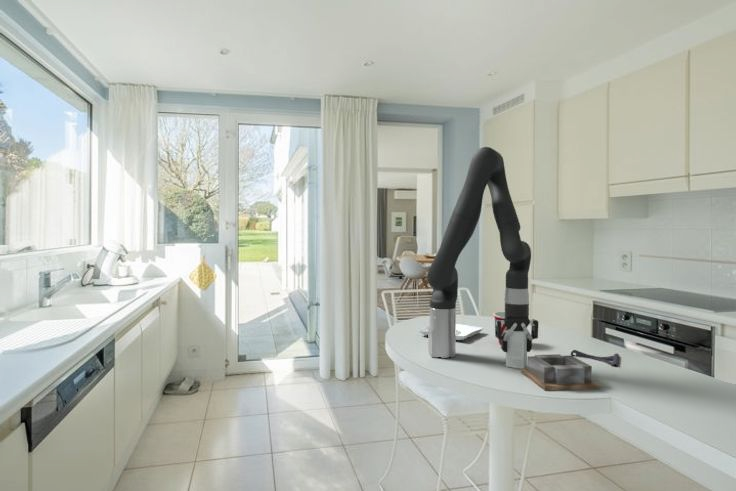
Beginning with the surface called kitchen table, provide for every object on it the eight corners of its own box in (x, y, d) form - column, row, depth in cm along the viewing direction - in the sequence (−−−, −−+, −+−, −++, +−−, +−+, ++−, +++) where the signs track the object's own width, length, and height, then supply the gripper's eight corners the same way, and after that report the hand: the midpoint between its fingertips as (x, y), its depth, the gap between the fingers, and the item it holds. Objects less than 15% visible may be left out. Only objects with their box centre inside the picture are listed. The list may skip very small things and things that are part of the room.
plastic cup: (512, 349, 164) (512, 317, 164) (487, 344, 172) (487, 313, 172) (526, 344, 171) (527, 314, 171) (502, 339, 179) (502, 310, 179)
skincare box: (527, 366, 143) (527, 330, 143) (524, 369, 140) (524, 332, 139) (508, 363, 147) (508, 328, 146) (505, 366, 143) (505, 330, 143)
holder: (544, 390, 121) (545, 370, 121) (520, 372, 137) (521, 354, 137) (600, 389, 122) (600, 368, 122) (569, 371, 138) (570, 353, 138)
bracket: (573, 352, 162) (573, 345, 162) (619, 358, 154) (619, 350, 154) (568, 362, 150) (568, 354, 150) (618, 369, 142) (618, 361, 142)
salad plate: (439, 328, 202) (439, 321, 202) (484, 334, 190) (484, 326, 190) (417, 337, 185) (417, 329, 185) (464, 344, 173) (464, 336, 172)
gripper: (499, 303, 138) (499, 355, 139) (543, 303, 139) (542, 354, 140) (491, 300, 146) (491, 349, 146) (532, 299, 147) (532, 348, 147)
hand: (516, 351), depth 143 cm, fingers closed on skincare box, 7 cm apart
